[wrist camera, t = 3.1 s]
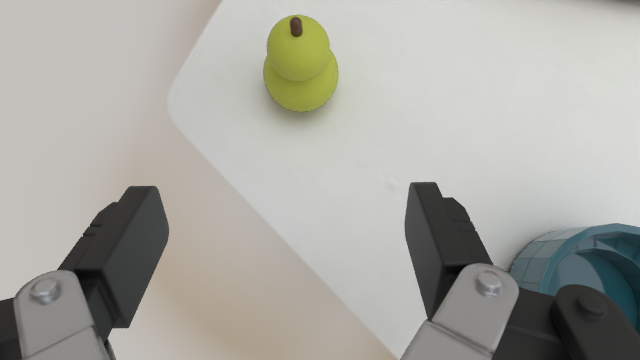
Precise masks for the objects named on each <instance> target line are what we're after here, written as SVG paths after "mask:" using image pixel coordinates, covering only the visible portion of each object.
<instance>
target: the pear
mask: <svg viewBox="0 0 640 360" xmlns="http://www.w3.org/2000/svg"><path fill="white" fill-rule="evenodd" d="M267 54H268V55H267V57H266V59H265V63H264V69H263V76H264V82H265V86H266V88H267V90H268V92H269V94H270V95H271V97H272V98H273V99H274V100H275V101H276V102H277V103H278V104H279V105H281V106H282V107H284V108H286V109H289V110H292V111H297V112H305V111H311V110H314V109H316V108H318V107H320V106H322V105H323V104H324V103H325V102H327V101H328V99H329V98H330V97H331V96H332V94H333V92H334V90H335V88H336V85H337V82H338V65H337V62H336V59H335V56H334V54H333V53H332V51H331V50H330V44H329V39H328V36H327V34H326V32H325V30H324V29H323V27H322V26H321V25H320V24H319V23H318V22H317V21H315V20H314V19H312V18H310V17H307V16H304V15H292V16H288V17H286V18H284V19H282V20H280V21H279V22H278V23H277V24H276V25H275V26H274V27H273V29H272V30H271V32H270V34H269V37H268V41H267Z"/></svg>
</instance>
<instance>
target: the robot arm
mask: <svg viewBox="0 0 640 360" xmlns="http://www.w3.org/2000/svg"><path fill="white" fill-rule="evenodd" d="M168 236H169V226H168V222H167V218H166V214H165V211H164V207H163V204H162V201H161V197H160V194H159V191H158V189H157V187H155V186H130V187H129V188H128V189H127V190H126V191H125V193H124V194H123V196H122V197H121V199H120V200H119V202H113V203H111V204H110V205H108V206H107V207H106V208H104V209H103V210H102V211H100V212H99V213H98V214H97V216H96V217H95V218H94V220H93V221H92V222H91V224H90V227H88V228H87V229H86V231H85V232H84V233H83V237H81V238H80V239H79V241H78V242H77V243H76V245H75V246H74V247H73V249H72V250H71V252H70V253H69V254H68V256H67V257H66V258H65V260H64V261H63V263H62V264H61V265H60V267H59V268H58V269H57V270H56V271H51V272H47V273H45V274H42V275H40V276H38V277H36V278H34V279H32V280H31V281H29V282H28V283H26V284H25V285H24V286H23V287H22V288H21V289H20V290H19V291H18V293H17V294H16V297H14V298H10V299H6V300H2V301H0V360H116V358H115V355H114V352H113V350H112V348H111V344H110V342H109V340H108V336H109V334H110V332H111V330H112V328H129V326H130V324H131V321H132V319H133V317H134V315H135V313H136V310H137V308H138V306H139V304H140V302H141V299H142V297H143V295H144V292H145V290H146V288H147V286H148V283H149V281H150V279H151V277H152V275H153V273H154V270H155V268H156V266H157V264H158V262H159V259H160V257H161V255H162V253H163V251H164V248H165V246H166V244H167V241H168ZM405 237H406V242H407V245H408V249H409V252H410V256H411V260H412V263H413V267H414V270H415V274H416V278H417V281H418V285H419V288H420V292H421V296H422V299H423V303H424V307H425V310H426V314H427V317H428V319H426V320H425V321H424V323H423V324H422V325H421V327H420V328H419V330H418V332H417V333H416V335H415V336H414V338H413V340H412V341H411V343H410V344H409V346H408V348H407V349H406V351H405V353H404V354H403V356H402V357H401V359H400V360H640V336H639V334H638V333H637V331H636V330H635V328H634V327H633V326H632V324H631V323H630V321H629V320H628V318H627V317H626V315H625V314H624V313H623V311H622V310H621V308H620V307H619V306H618V305H617V303H615V302H614V301H613V300H612V299H611V298H610V297H608V296H607V295H605V294H604V293H602V292H600V291H598V290H596V289H594V288H591V287H588V286H584V285H578V284H570V285H565V286H563V287H561V288H560V289H559V290H558V291H557V293H556V295H555V296H552V295H548V294H543V293H539V292H535V291H530V290H527V289H523V288H521V287H518V285H517V283H516V282H515V280H514V279H513V278H512V277H511V276H510V275H509V274H508V273H507V272H505V271H504V270H502V269H500V268H498V267H496V266H494V265H493V263H492V261H491V259H490V257H489V255H488V253H487V251H486V249H485V247H484V245H483V243H482V241H481V239H480V237H479V235H478V233H477V231H475V227H474V225H473V224H472V222H470V218H469V216H468V214H467V212H466V210H465V208H464V207H463V206H462V205H461V204H460V203H458V202H457V201H456V200H455V199H454V198H443V197H442V195H441V193H440V190H439V188H438V186H437V184H436V183H435V182H412V183H411V184H410V187H409V193H408V201H407V208H406V216H405Z"/></svg>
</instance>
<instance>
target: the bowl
mask: <svg viewBox="0 0 640 360" xmlns="http://www.w3.org/2000/svg"><path fill="white" fill-rule="evenodd" d="M509 275H510V276H511V277H512V278H513V279H514V280H515V282H516V283H517V285H518V287H521V288H523V289H527V290H530V291H535V292H539V293H543V294H548V295H552V296H555V295H556V293H557V291H558V290H559V289H560V288H561V287H563V286H565V285H570V284H578V285H584V286H588V287H591V288H594V289H596V290H598V291H600V292H602V293H604V294H605V295H607V296H608V297H610V298H611V299H612V300H613V301H614V302H615V303H617V305H618V306H619V307H620V308H621V310H622V311H623V313H624V314H625V315H626V317H627V318H628V320H629V321H630V323H631V324H632V326H633V327H634V328H635V330H636V331H637V333H638V334H639V336H640V227H636V226H630V225H624V224H619V223H614V224H606V225H598V226H590V227H582V228H574V229H567V230H560V231H553V232H549V233H547V234H545V235H543V236H541V237H540V238H538V239H536V240H534V241H532V242H531V243H530V244H529V245H528V246H527V247H526V248H525V249H524V250H523V251H522V252H521V253H520V254H519V255H518V257H517V258H516V259H515V261H514V263H513V265H512V268H511V270H510V272H509Z"/></svg>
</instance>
